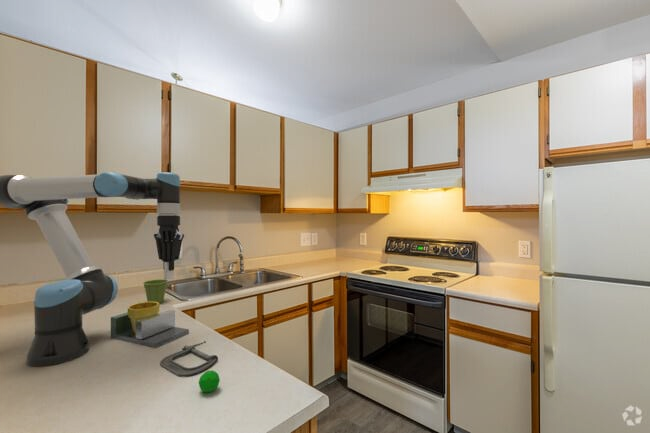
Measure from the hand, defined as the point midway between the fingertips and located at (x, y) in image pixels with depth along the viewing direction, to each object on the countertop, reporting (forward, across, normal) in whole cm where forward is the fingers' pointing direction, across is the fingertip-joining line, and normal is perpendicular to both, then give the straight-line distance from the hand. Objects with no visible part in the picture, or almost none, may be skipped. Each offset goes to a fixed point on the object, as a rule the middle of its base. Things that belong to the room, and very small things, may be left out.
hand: (168, 279), depth 111 cm
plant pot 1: (+22, +48, -32) cm, 62 cm away
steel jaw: (+20, +6, 0) cm, 21 cm away
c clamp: (+23, -21, +8) cm, 32 cm away
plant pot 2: (+21, +13, 0) cm, 24 cm away
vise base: (+22, +10, 0) cm, 24 cm away
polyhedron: (+22, -38, +20) cm, 49 cm away
